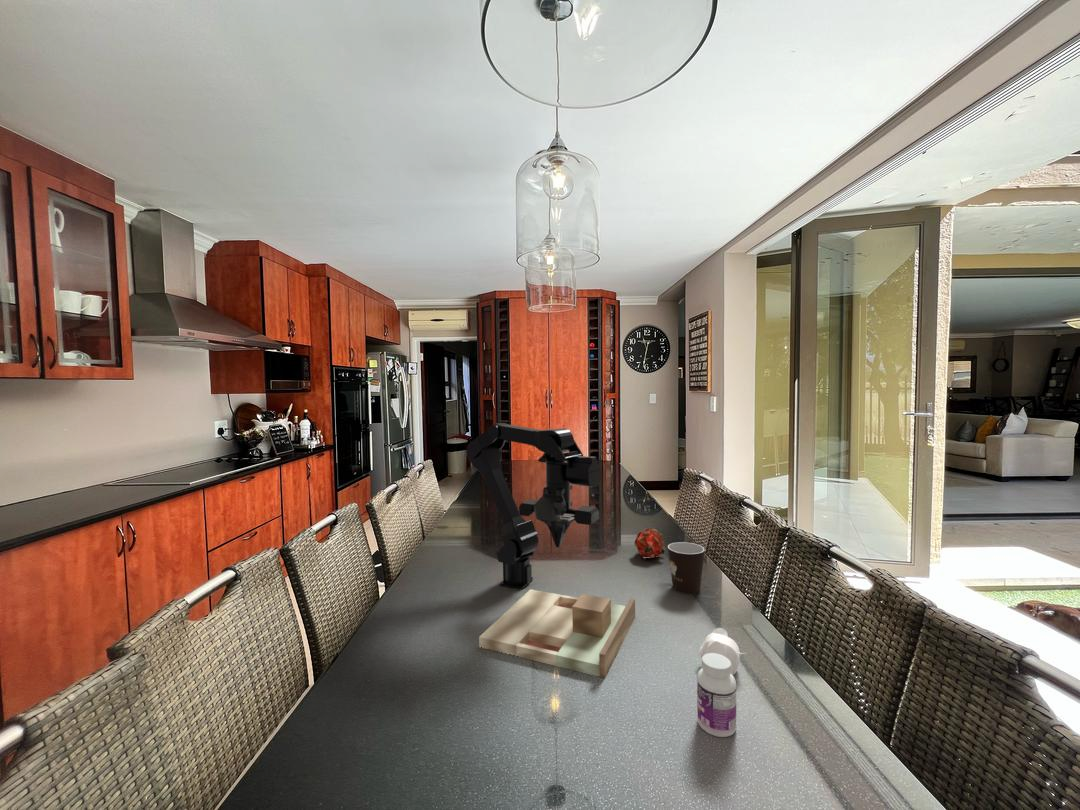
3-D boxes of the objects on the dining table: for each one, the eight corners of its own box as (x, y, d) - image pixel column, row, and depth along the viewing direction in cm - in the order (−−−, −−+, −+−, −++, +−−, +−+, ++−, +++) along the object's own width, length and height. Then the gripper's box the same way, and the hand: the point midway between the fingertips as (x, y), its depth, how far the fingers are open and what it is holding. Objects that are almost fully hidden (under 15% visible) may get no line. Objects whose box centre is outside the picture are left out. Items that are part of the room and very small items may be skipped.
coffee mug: (707, 597, 109) (707, 555, 108) (669, 594, 110) (669, 553, 110) (700, 577, 120) (700, 539, 120) (666, 575, 122) (665, 537, 122)
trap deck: (479, 647, 89) (478, 626, 89) (530, 597, 110) (530, 580, 110) (605, 678, 79) (604, 654, 79) (635, 616, 100) (635, 598, 100)
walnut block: (572, 631, 90) (572, 606, 90) (582, 617, 96) (582, 593, 96) (602, 638, 88) (602, 612, 88) (611, 623, 93) (610, 598, 93)
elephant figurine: (700, 653, 86) (699, 621, 86) (747, 663, 82) (747, 630, 82) (695, 673, 80) (695, 639, 80) (746, 685, 76) (746, 650, 76)
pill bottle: (691, 713, 70) (690, 650, 70) (725, 711, 70) (724, 648, 70) (707, 740, 64) (706, 672, 64) (743, 737, 65) (743, 670, 65)
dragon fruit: (654, 554, 142) (651, 574, 131) (630, 537, 143) (626, 556, 132) (670, 534, 139) (669, 553, 128) (647, 517, 141) (643, 534, 129)
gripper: (506, 484, 107) (507, 551, 108) (581, 492, 98) (581, 565, 99) (529, 476, 117) (530, 537, 117) (599, 483, 108) (599, 549, 109)
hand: (558, 547), depth 110 cm, fingers closed
